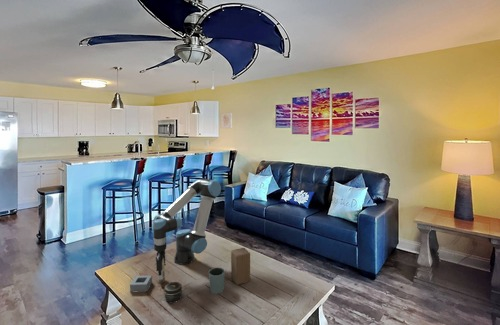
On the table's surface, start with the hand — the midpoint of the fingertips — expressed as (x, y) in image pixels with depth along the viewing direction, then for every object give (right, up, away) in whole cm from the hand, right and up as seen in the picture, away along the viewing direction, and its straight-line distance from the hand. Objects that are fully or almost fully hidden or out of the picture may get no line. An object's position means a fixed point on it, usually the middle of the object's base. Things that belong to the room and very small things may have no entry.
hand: (161, 277), depth 176 cm
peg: (0, -3, 0) cm, 3 cm away
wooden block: (+52, -3, +3) cm, 52 cm away
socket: (-11, -4, -6) cm, 13 cm away
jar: (+13, -5, -17) cm, 22 cm away
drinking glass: (+37, -4, -8) cm, 38 cm away
